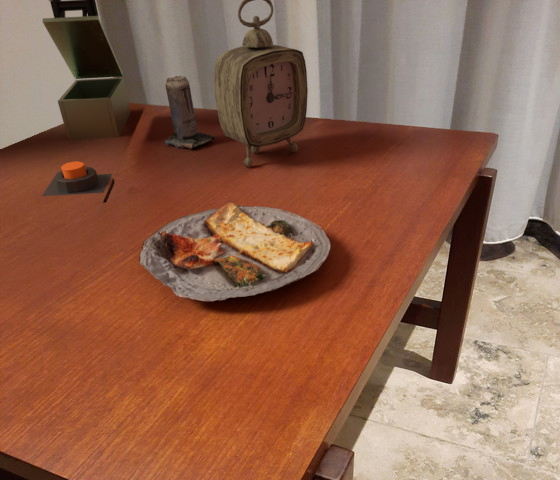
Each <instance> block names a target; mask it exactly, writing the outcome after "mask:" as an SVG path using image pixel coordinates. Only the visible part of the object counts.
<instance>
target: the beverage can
mask: <svg viewBox="0 0 560 480" xmlns="http://www.w3.org/2000/svg"><path fill="white" fill-rule="evenodd" d="M164 87H165V90H166V96H167V101H168V105H169V111H170V116H171V122H172V125H173V129H174V131H173V132H172V135H171V136H169V137H168V139H165V141H164V143H165V145H166V146H167V147H169V146H174V148H177V149H179V148H181V149H184V148H187V149H188V150H193V148H196V147H198V146H200V145H203V144H206V143H207V142H211V141H213V140H216V138H215V135H214V136H213V135H212V134H209V133H205V132H201V131H200V132H199V131H198V125H197V120H196V115H195V108H194V103H193V97H192V90H191V85H190V81H189V80H188V78H187V77H186V76H182V75H179V76H178V75H175V76H172V77H167V78H166V81H165V85H164Z"/></svg>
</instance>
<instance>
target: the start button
mask: <svg viewBox="0 0 560 480" xmlns="http://www.w3.org/2000/svg"><path fill="white" fill-rule="evenodd" d="M85 166H86V165H85V163H84V162H83V161H70V162H69V161H68V162H67V163H64V164H63V165H62V166H61V171H63V175H64V178H66V179H76V178H80V177H83V176H85V175H87V173H86V169H85Z"/></svg>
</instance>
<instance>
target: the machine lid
mask: <svg viewBox="0 0 560 480" xmlns="http://www.w3.org/2000/svg"><path fill="white" fill-rule="evenodd" d="M58 4H59V8H60V15H61V18H54V17H46V18H42V24H43V25H44V28H45V29H46V31H47V33H48V34H49V36H50V38H51V39H52V42H53V43H54V45H55V47H56V49H57V50H58V52H59V53H60V55H61V57H62V59H63V60H64V62H65V64H66V67H67V68H68V69H69V71H70V73H71V75H72V76H73V78H74V79H75V80H84V79H103V78H121V77H123V78H124V73H123V71H122V68H121V66H120V63H119V61H118V59H117V57H116V54H115V51H114V49H113V47H112V44H111V43H110V40H109V38H108V36H107V33H106V31H105V28H104V26H103V24H102V22H101V19H100V17H98V16H99V15H98V16H88V14H87V9H86V5H85V0H61V1H59V2H58ZM75 11H81V12H82V16H66V12H75Z"/></svg>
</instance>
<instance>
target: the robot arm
mask: <svg viewBox="0 0 560 480" xmlns="http://www.w3.org/2000/svg"><path fill="white" fill-rule="evenodd" d="M48 1H49V2H50V7H51V10H52V15H53V18H61V15H60V8H59V4H58V2H59V1H62V0H48ZM85 5H86V9H87V16H98V17H99V11H98V6H97V2H96V0H85ZM99 18H100V17H99Z"/></svg>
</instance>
